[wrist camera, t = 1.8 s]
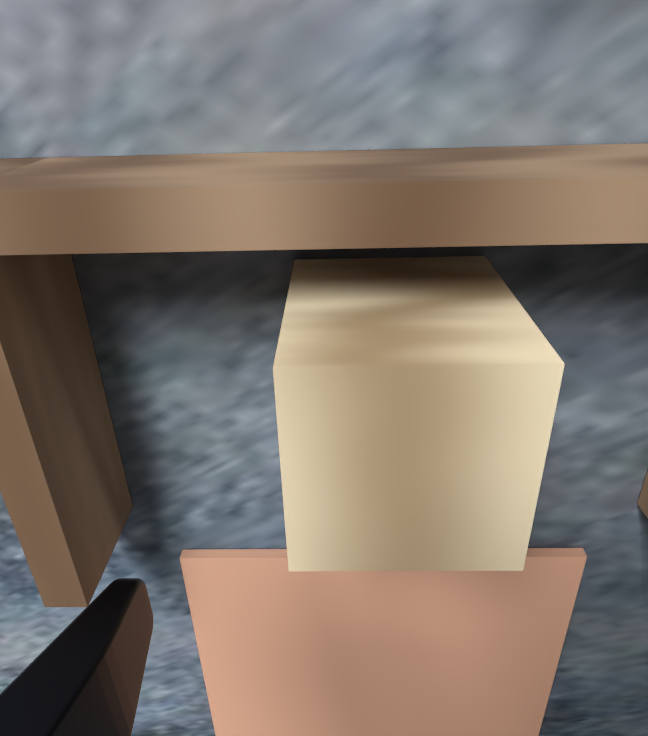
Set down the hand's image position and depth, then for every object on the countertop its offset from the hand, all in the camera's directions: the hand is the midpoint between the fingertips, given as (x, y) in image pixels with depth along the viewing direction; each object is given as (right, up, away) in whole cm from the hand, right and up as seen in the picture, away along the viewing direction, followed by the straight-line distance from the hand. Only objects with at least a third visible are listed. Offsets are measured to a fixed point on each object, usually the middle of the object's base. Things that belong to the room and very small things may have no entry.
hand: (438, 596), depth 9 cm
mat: (0, -9, +15) cm, 17 cm away
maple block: (0, +4, +8) cm, 9 cm away
